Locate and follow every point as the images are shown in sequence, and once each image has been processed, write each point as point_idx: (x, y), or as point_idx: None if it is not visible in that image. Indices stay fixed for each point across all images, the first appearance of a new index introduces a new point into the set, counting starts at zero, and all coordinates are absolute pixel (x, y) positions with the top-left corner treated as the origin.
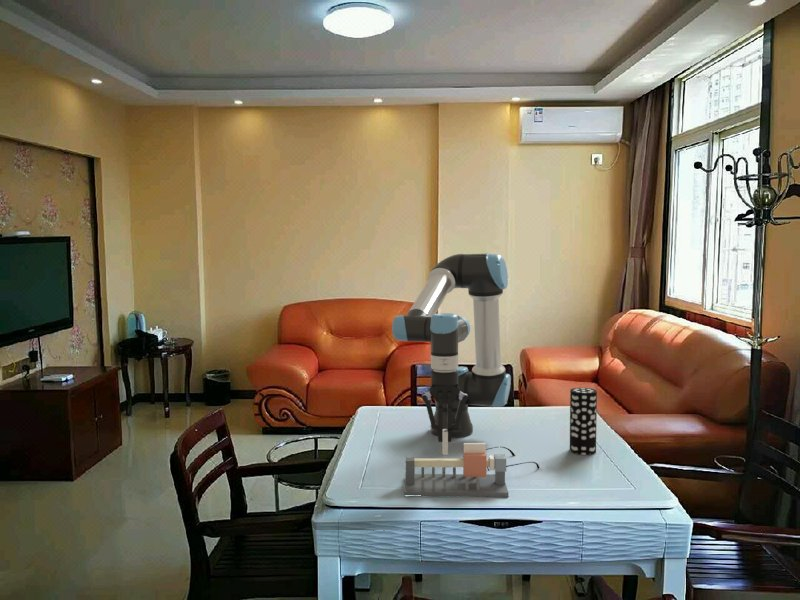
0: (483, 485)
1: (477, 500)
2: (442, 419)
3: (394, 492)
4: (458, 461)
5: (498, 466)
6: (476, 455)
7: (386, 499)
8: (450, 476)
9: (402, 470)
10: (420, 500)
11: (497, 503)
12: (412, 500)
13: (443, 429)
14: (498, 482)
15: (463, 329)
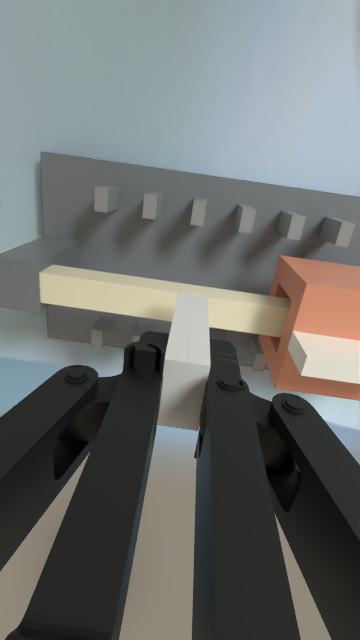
0: None
1: (268, 385)
2: (140, 515)
3: None
4: (249, 331)
5: None
6: (336, 394)
7: (3, 343)
8: (227, 207)
9: (26, 31)
10: (102, 363)
11: (317, 411)
12: (79, 360)
13: (173, 373)
14: None
15: None
